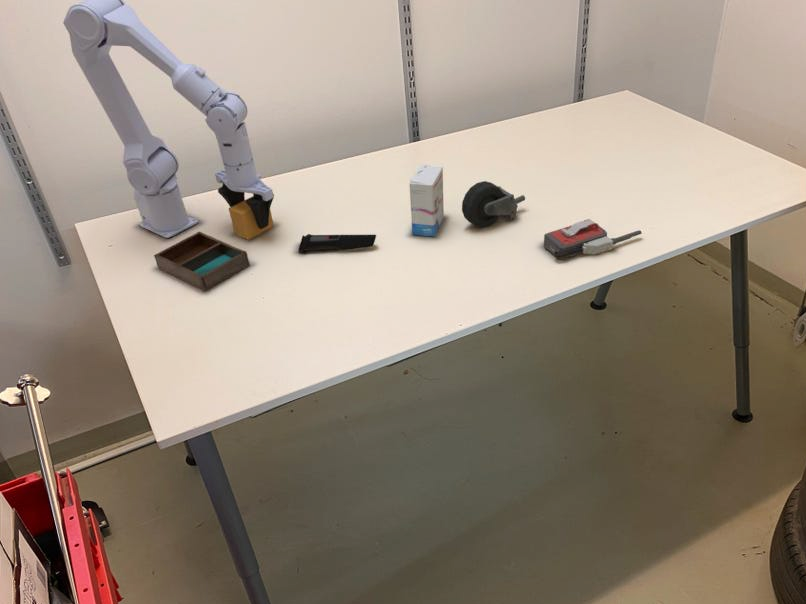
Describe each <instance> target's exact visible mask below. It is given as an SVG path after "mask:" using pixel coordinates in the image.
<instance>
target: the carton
mask: <svg viewBox="0 0 806 604" xmlns="http://www.w3.org/2000/svg"><path fill="white" fill-rule="evenodd" d="M251 197H254V196H253V195H252V196H250V197H248V198H246V199H245V200H247V199H249V198H251ZM245 200H244V201H242V202H241V203H239V204H237V205H235V206H233V207H231V208H230V207H229V208H228V212H229V216H230V220H231V224H232V227H233V228H232V229H233V232H234V235H235V236H238V237H239V238H242V239H245V240H247V241H250V240H252V239H253V238H255V237H257V236H259V235H261V234H262V233H264V232H265V231H268V230H269V229H271V228H273V227H274V225H275V224H274V219H273V215H272V211H271V209H270V212H269V225H268V226H267V227H265V228H263V229H260V228H259V227H258V225H257V223H256V220H255V217H254V214H253V212H252V210H251V208H250V207H249V206H248V204H247V203H246V201H245Z"/></svg>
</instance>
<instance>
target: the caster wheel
mask: <svg viewBox="0 0 806 604" xmlns="http://www.w3.org/2000/svg"><path fill="white" fill-rule="evenodd" d="M524 201H526V196H525V195H523V194H522V195H519V196H518V197H515V195H514V194H513V193H510V192H509V191H507V190H505V189H504V188H502V186H497V185H496V184H494V183H493V182H491V181H487V180H483V181H479V182H477V183H475V184H473V185H472V186H470V188H469V189H468V190H467V192H466V193H465V194H464V197H463V199H462V201H461V202H462V203H461V212H462V215H463V218H464V219H465V220H466V221H468V223H470V224H471V225H473V226H474V227H478V228H487V227H489V226H491V225H492V224H494V223H496V221H498V219H499V218H500V216H503V217H504V218H506V219H507V220H509V221H511V220H513V219H515V215H516V212H517V210H518V207H519V206H518V204H520V203H522V202H524Z"/></svg>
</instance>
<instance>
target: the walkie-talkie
mask: <svg viewBox="0 0 806 604" xmlns="http://www.w3.org/2000/svg"><path fill="white" fill-rule="evenodd" d="M639 235H642V231H641V230H639V229H638V230H636V231H635V230H634V231H633V232H630V233H627V234H624V235H621V236H620V235H619V236H617V237H613V238H610V237H608V232H607V231H606V229H604V228H603V227H601V226H600V225H599V224H598V223H596V222H595V221H593V220H592V219H591V218H587V219H585V220H582V221H578V222H575V223H573V224H571V225H569V226H565V227H562V228H559V229H556V230H553V231H549V232H547V233H545V234H544V235H543V247H544V248H545V249H546V250H548V252H550V253H551V254H552V255H553V257H554V258H555V259H559V260H565V259H567V258H572V257H574V256H576V255H581V254H584V255H598V254H601V253H603V252H607V251H611V250H613V246H615V245H616V244H618V243H622V242H625V241H627V240H630V239H632V238H633V237H636V236H639Z"/></svg>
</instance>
